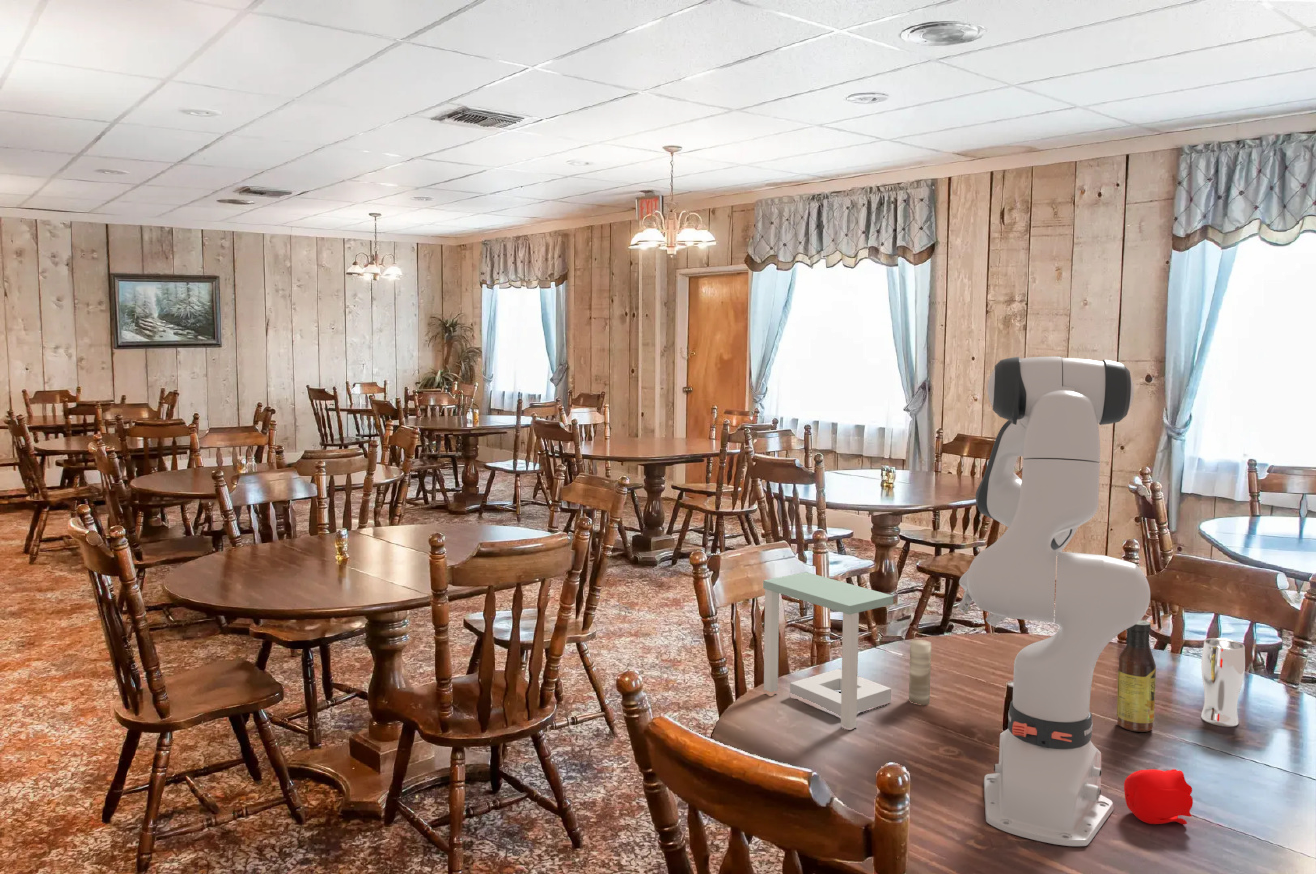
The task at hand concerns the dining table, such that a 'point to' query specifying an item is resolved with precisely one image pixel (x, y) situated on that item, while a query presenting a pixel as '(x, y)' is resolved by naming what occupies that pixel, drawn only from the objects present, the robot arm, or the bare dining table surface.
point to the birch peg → (920, 672)
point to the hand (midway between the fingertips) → (975, 616)
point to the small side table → (829, 596)
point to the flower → (1158, 796)
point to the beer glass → (1222, 680)
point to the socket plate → (824, 695)
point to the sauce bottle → (1136, 681)
